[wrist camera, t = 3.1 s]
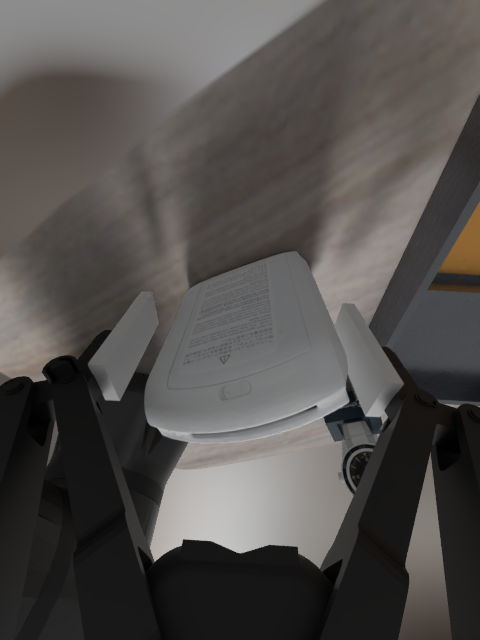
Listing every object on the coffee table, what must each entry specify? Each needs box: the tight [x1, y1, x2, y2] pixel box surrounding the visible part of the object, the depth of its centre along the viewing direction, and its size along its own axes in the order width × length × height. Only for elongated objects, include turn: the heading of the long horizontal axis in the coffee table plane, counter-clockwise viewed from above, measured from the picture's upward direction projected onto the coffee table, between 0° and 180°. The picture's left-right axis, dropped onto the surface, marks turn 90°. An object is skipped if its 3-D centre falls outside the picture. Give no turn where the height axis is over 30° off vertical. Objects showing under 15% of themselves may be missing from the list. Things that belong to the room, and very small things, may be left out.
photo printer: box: [144, 251, 349, 443], centre depth 15 cm, size 10×4×12 cm, turn 113°
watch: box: [324, 391, 383, 496], centre depth 24 cm, size 6×8×11 cm
